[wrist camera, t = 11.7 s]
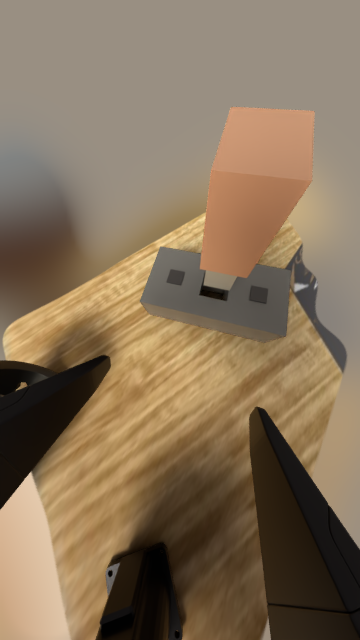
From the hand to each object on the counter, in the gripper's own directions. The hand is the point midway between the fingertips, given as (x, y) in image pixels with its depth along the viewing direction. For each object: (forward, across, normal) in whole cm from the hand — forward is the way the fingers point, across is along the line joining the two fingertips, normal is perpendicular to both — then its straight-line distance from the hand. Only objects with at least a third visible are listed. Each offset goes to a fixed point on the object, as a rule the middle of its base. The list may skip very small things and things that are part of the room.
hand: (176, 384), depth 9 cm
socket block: (+17, -1, 0) cm, 17 cm away
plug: (+13, -1, -4) cm, 14 cm away
